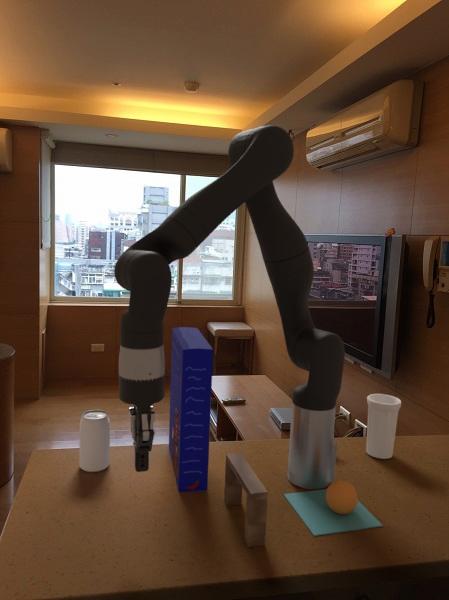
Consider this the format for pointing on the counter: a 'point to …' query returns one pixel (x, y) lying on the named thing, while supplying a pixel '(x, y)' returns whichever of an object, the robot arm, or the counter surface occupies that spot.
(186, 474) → the cereal box
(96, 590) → the counter surface
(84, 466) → the can
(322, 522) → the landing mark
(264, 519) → the bridge
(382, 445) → the cup
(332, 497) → the ball
